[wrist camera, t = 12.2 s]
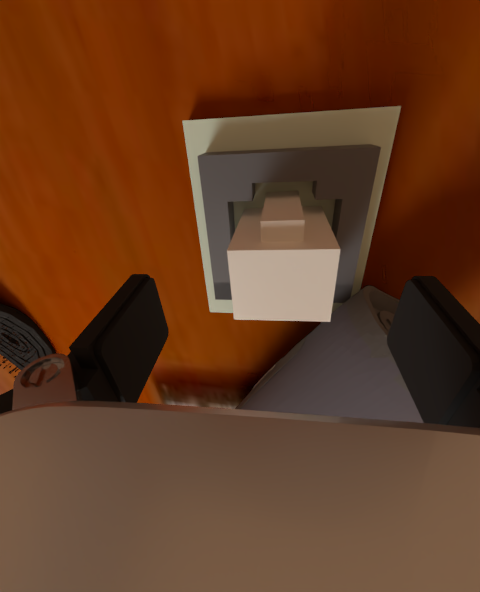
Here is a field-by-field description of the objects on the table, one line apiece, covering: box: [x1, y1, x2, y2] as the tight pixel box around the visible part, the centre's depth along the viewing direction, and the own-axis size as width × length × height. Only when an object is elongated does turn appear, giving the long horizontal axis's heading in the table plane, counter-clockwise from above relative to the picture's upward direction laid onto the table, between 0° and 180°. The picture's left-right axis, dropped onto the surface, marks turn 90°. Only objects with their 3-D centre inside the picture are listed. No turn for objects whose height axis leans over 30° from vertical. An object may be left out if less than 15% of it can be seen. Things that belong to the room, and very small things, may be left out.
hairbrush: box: [0, 304, 56, 378], centre depth 32 cm, size 8×4×25 cm
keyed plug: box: [227, 191, 341, 322], centre depth 16 cm, size 5×5×7 cm
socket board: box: [183, 106, 401, 313], centre depth 18 cm, size 14×12×3 cm
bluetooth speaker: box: [235, 286, 424, 423], centre depth 23 cm, size 23×9×10 cm, turn 152°
